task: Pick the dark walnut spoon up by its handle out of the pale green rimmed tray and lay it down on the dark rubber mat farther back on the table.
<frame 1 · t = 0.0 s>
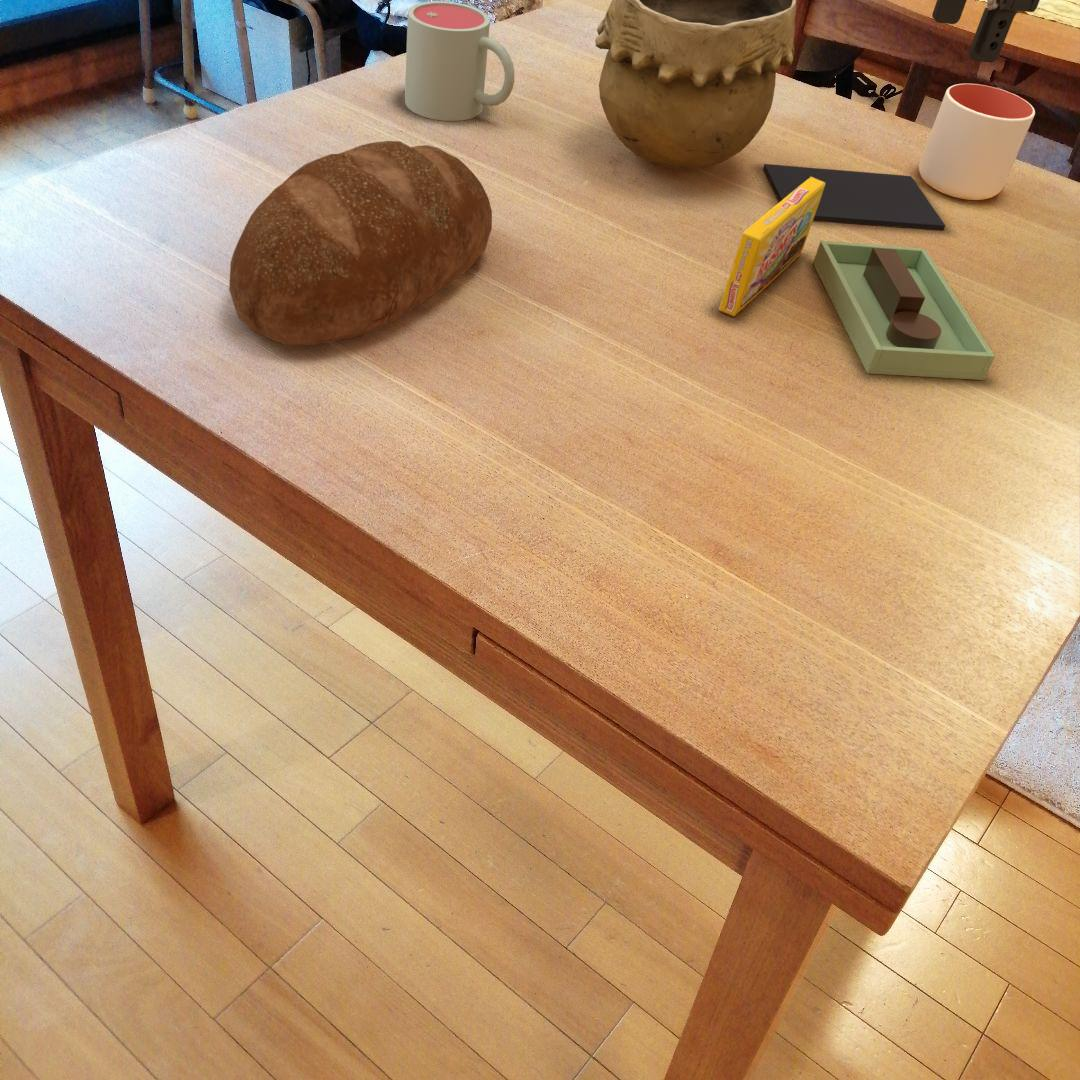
hand: (961, 40, 89), 25 cm above the table, tool pointing down, fingers open, 8 cm apart
clay pot: (670, 162, 125), on the table
mat: (851, 198, 123), on the table
bread: (369, 280, 99), on the table
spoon: (895, 313, 105), point 1 cm above the table, touching tray
cup: (956, 186, 130), on the table
tray: (893, 318, 105), on the table
mug: (459, 112, 128), on the table
candy box: (761, 284, 107), on the table
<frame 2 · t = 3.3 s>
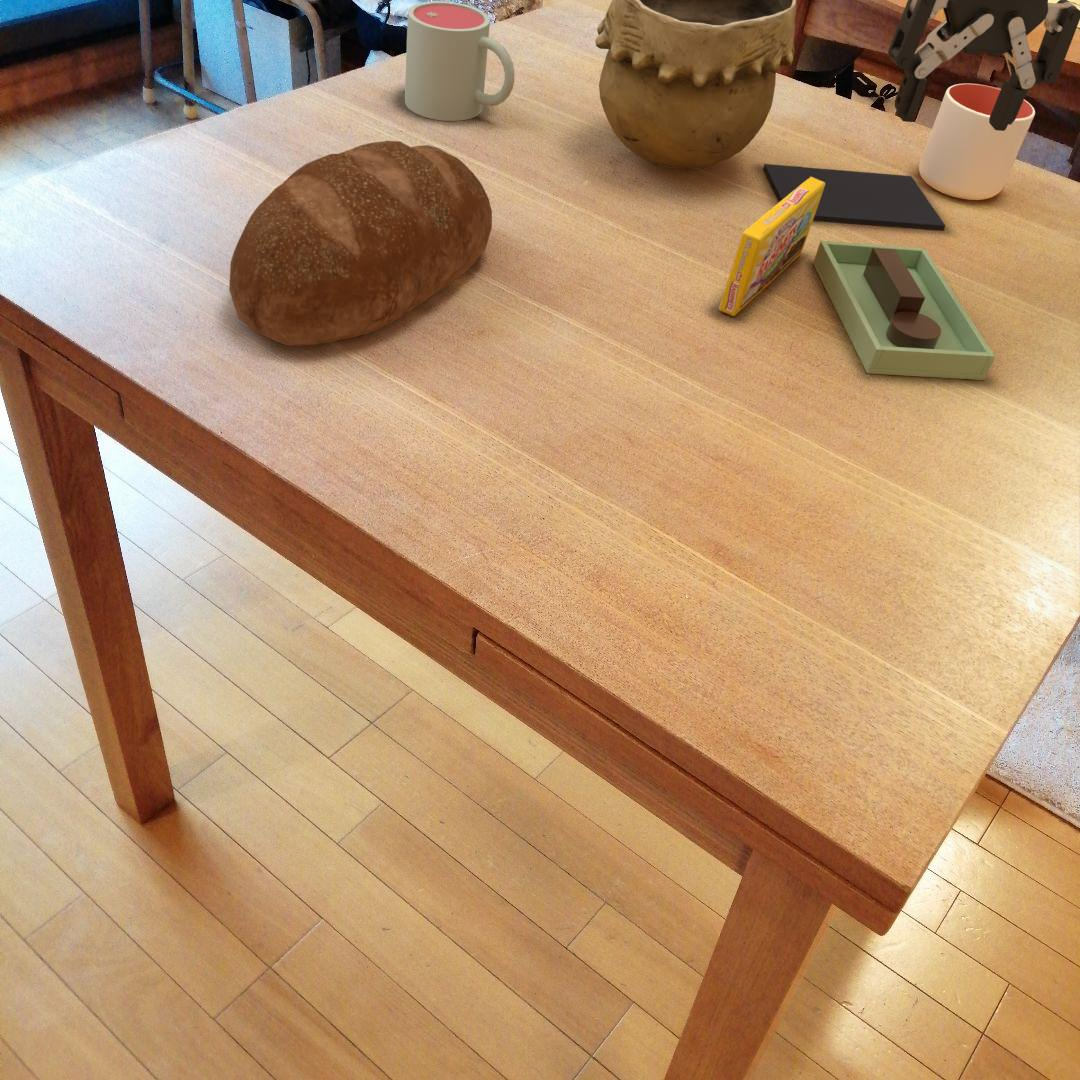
hand: (950, 122, 95), 18 cm above the table, tool pointing down, fingers open, 8 cm apart
nothing on the table moved.
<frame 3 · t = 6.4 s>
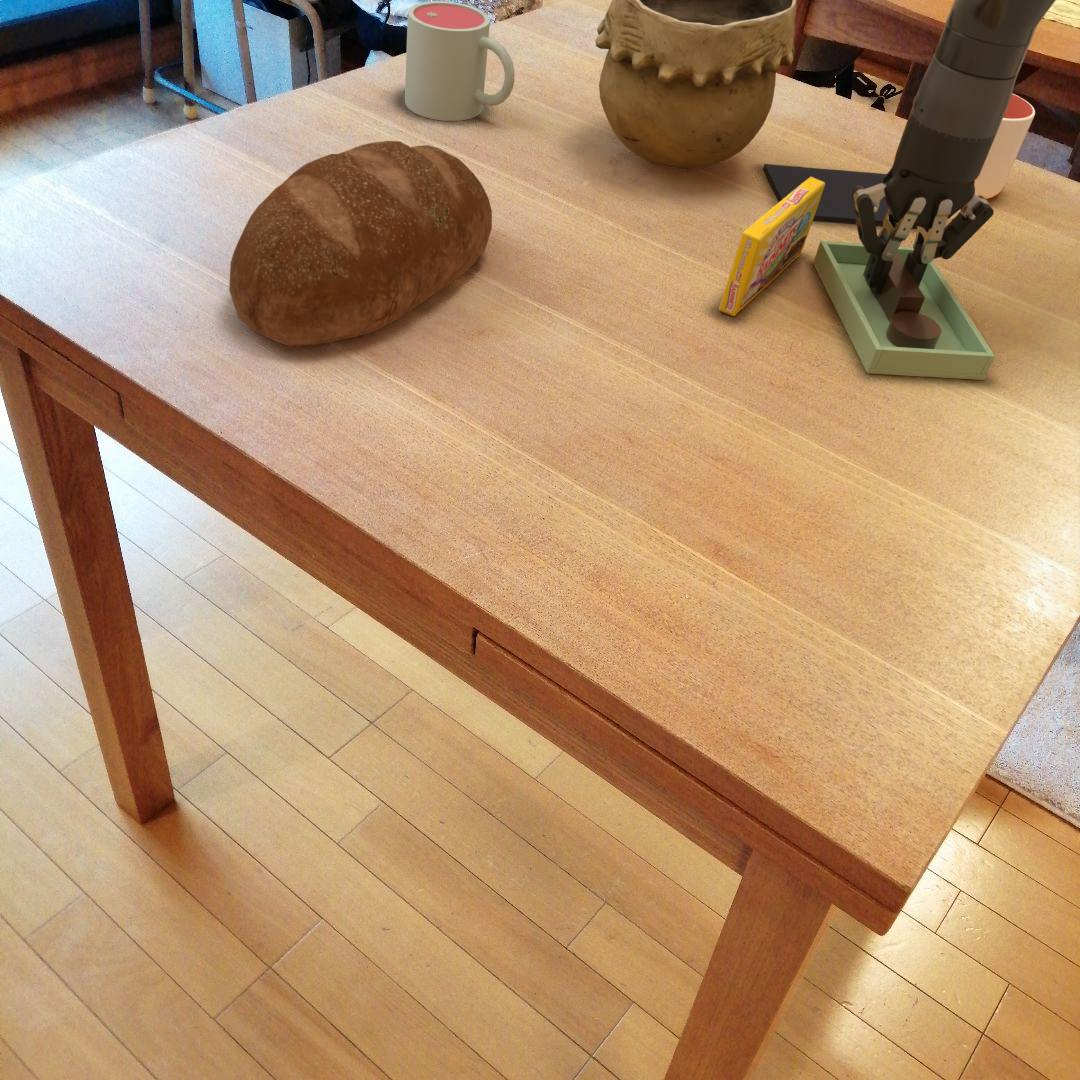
hand: (888, 290, 106), 1 cm above the table, tool pointing down, fingers closed on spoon, 2 cm apart
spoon: (895, 313, 105), point 1 cm above the table, touching gripper, tray
everything else where it was.
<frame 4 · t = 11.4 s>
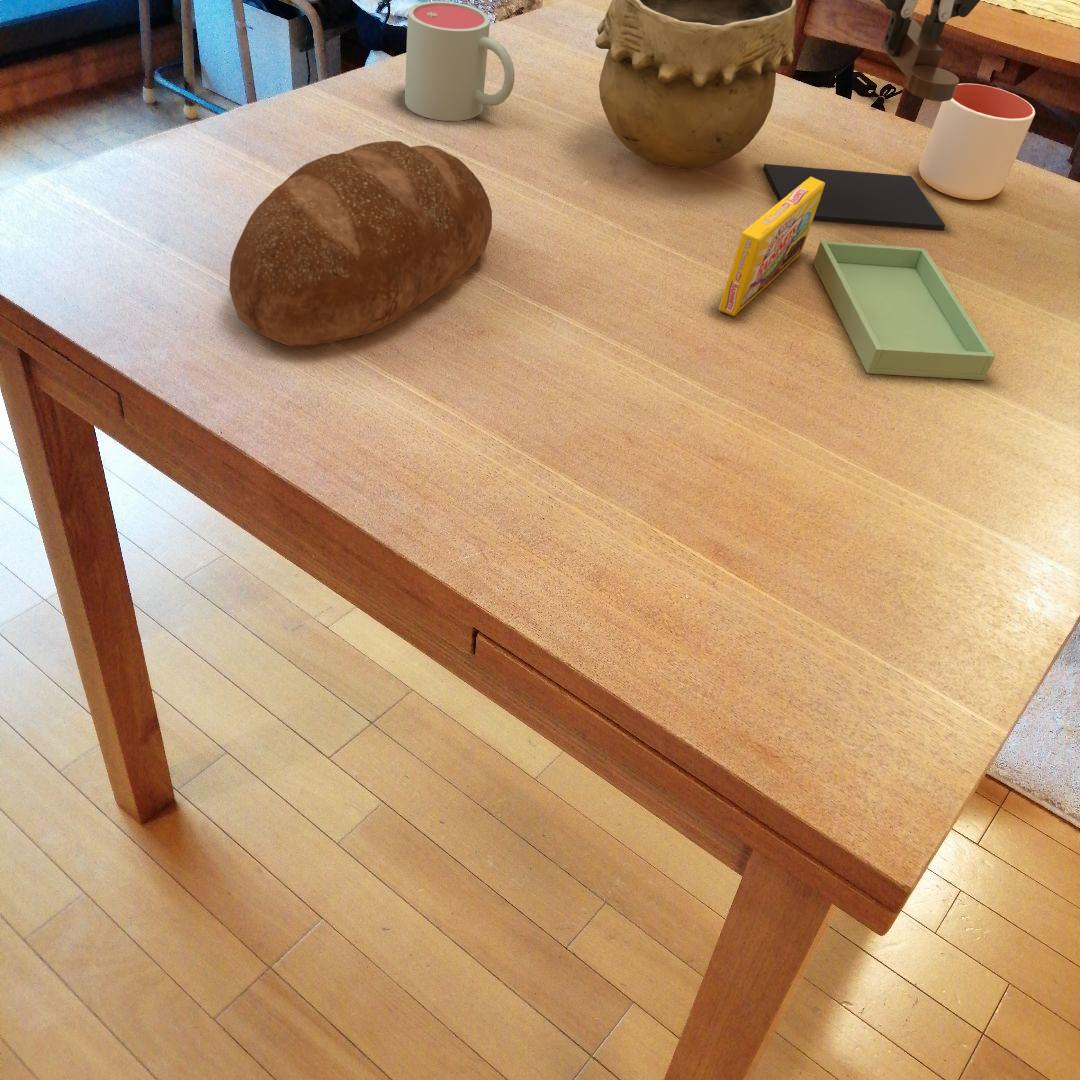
hand: (906, 54, 110), 17 cm above the table, tool pointing down, fingers closed on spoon, 2 cm apart
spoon: (913, 73, 108), point 16 cm above the table, touching gripper
everything else where it was.
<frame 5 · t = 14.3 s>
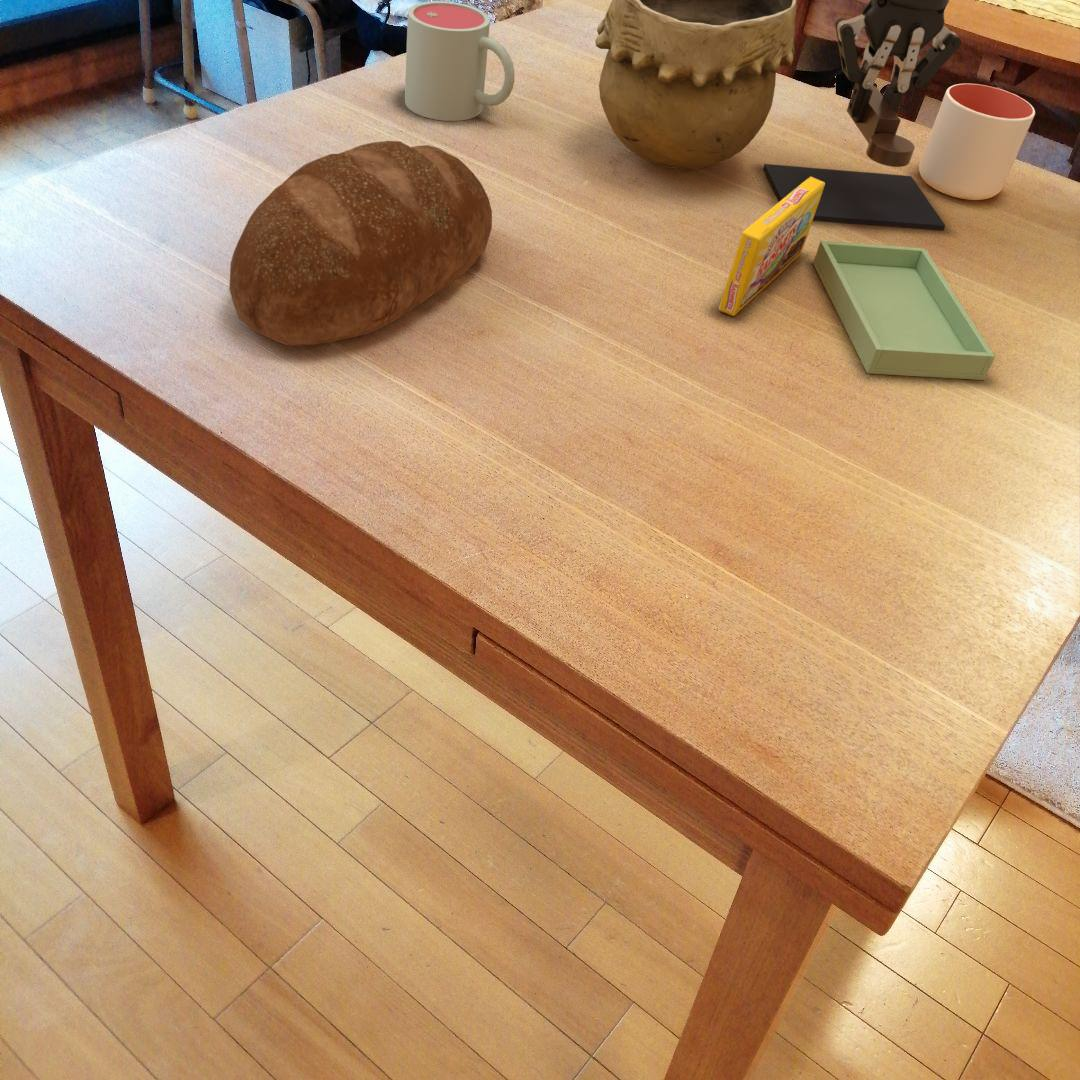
hand: (869, 120, 119), 8 cm above the table, tool pointing down, fingers closed on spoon, 2 cm apart
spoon: (875, 138, 118), point 7 cm above the table, touching gripper
everything else where it was.
when the fingers open (1 cm above the table, at t = 16.5 s): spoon stays where it is, resting on mat.
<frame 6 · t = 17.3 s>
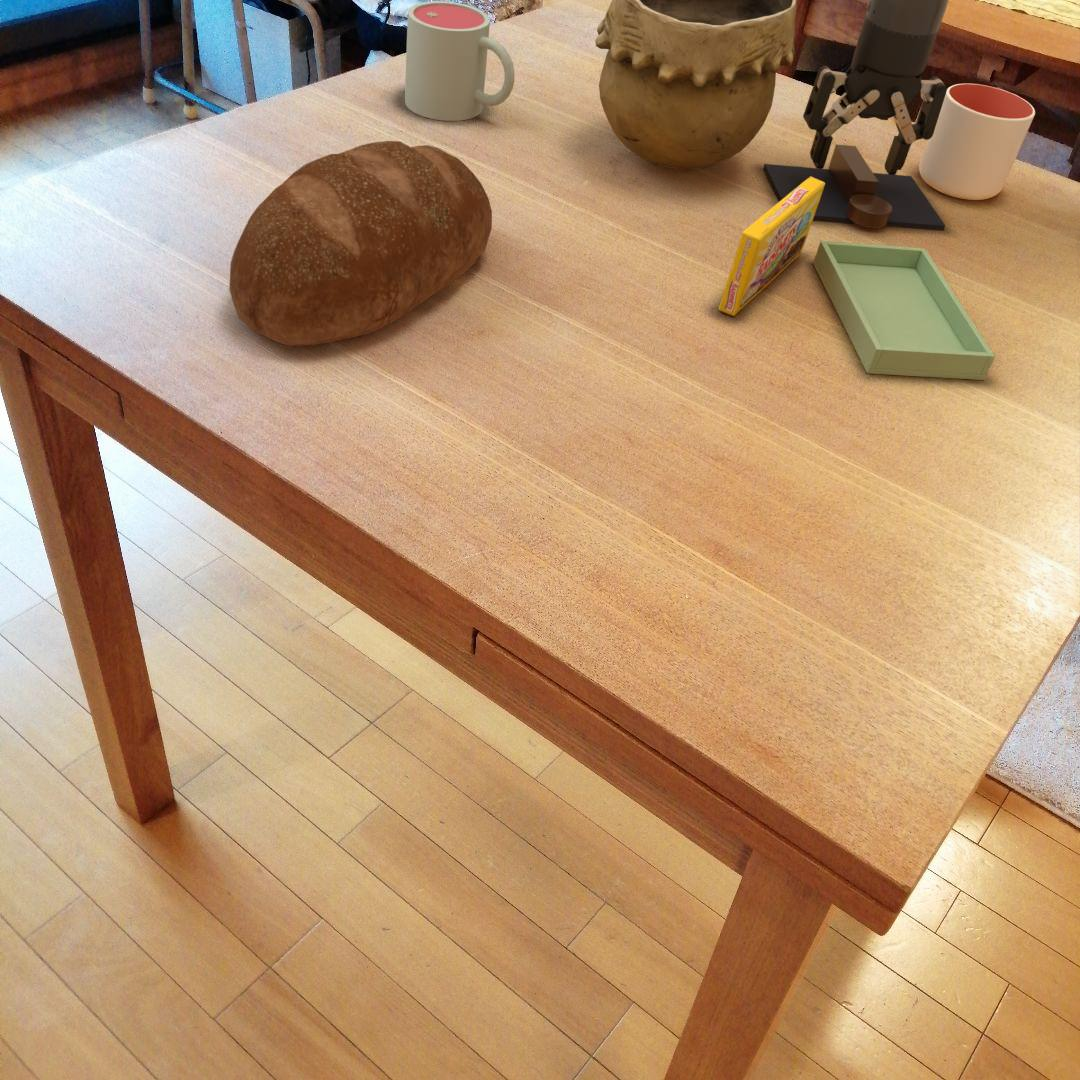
hand: (853, 168, 123), 3 cm above the table, tool pointing down, fingers open, 8 cm apart
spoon: (854, 198, 122), point 1 cm above the table, touching mat
everything else where it was.
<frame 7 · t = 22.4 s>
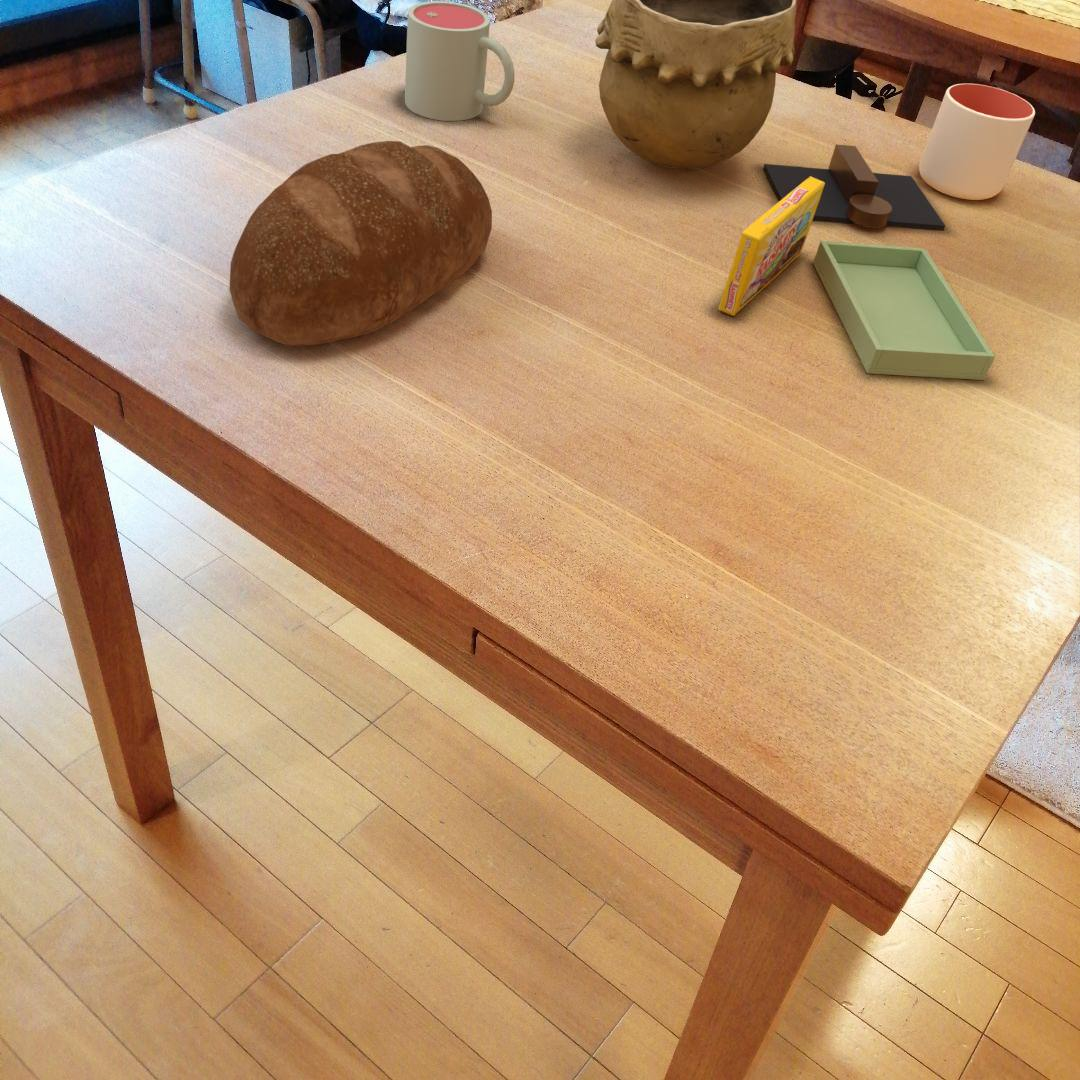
nothing on the table moved.
at the end: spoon inside the target area on the mat (1.0 cm from its centre), point 0.6 cm above the mat's base; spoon touching mat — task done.
